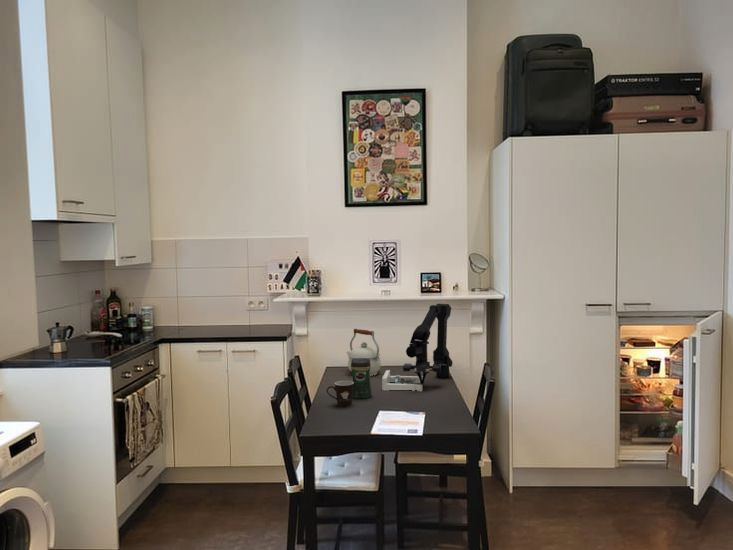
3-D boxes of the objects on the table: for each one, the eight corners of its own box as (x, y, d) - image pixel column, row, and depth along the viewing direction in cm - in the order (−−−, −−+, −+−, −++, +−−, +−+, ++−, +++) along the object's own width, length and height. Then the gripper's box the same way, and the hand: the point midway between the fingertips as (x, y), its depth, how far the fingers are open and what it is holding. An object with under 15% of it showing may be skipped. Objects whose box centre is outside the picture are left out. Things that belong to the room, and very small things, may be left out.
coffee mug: (356, 402, 245) (356, 381, 244) (350, 408, 237) (349, 386, 236) (333, 400, 249) (332, 379, 248) (326, 406, 240) (325, 384, 240)
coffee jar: (372, 394, 258) (371, 356, 257) (371, 399, 250) (370, 360, 249) (352, 394, 259) (351, 356, 258) (350, 399, 251) (349, 360, 250)
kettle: (390, 373, 298) (389, 329, 296) (367, 380, 285) (366, 334, 283) (358, 367, 315) (357, 325, 314) (335, 373, 302) (334, 329, 301)
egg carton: (399, 384, 277) (399, 376, 276) (413, 384, 276) (413, 376, 276) (398, 389, 266) (397, 381, 266) (413, 389, 265) (413, 381, 265)
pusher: (399, 382, 277) (399, 372, 277) (397, 388, 266) (397, 378, 265) (397, 382, 278) (397, 372, 277) (395, 388, 266) (394, 378, 266)
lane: (424, 381, 279) (423, 370, 278) (422, 391, 261) (422, 379, 260) (386, 381, 282) (386, 369, 281) (382, 390, 264) (382, 378, 263)
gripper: (401, 357, 263) (402, 388, 264) (439, 357, 259) (440, 389, 260) (403, 352, 273) (404, 382, 274) (440, 352, 270) (441, 383, 271)
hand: (422, 384), depth 270 cm, fingers closed
